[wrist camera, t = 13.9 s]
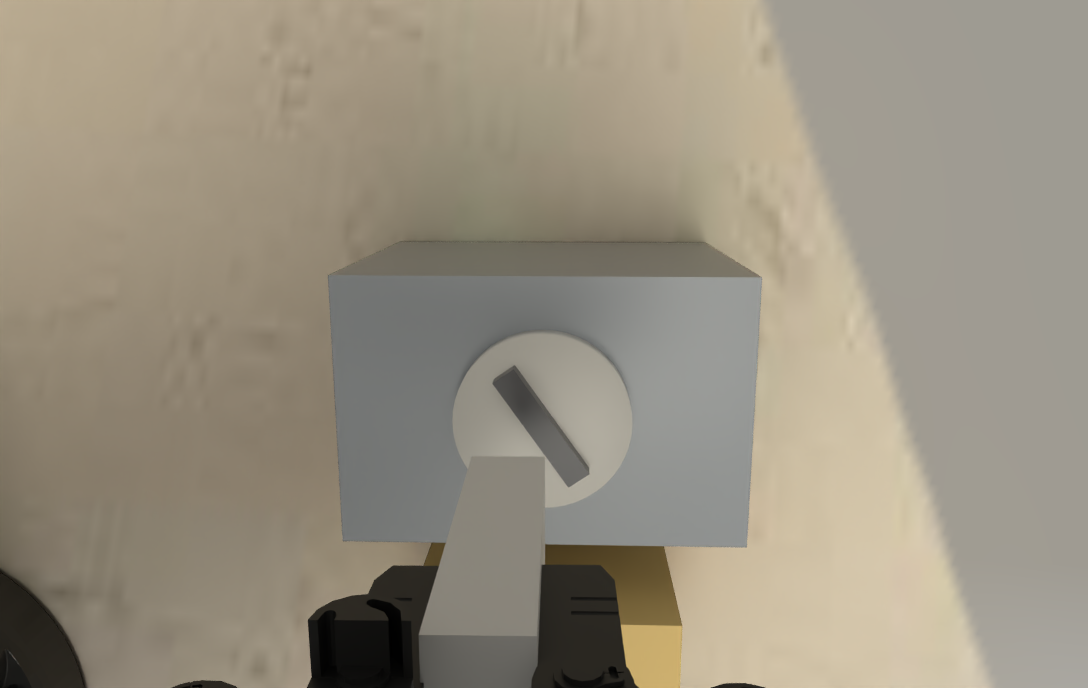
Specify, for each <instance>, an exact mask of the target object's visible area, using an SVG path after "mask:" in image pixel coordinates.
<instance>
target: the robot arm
mask: <svg viewBox="0 0 1088 688" xmlns="http://www.w3.org/2000/svg"><path fill="white" fill-rule="evenodd" d="M308 628H309V643H310V658H311V673H312V678H311V680H310V682H309V684H308V687H307V688H639V687H638V686H636V684H635V683H634V679H633V677H632V675H631V673H630V670H629V668H627V667H626V660H625V653H624V645H623V638H622V630H621V623H620V616H619V608H618V601H617V593H616V586H615V580H614V579H613V578H612V577H611V576H610V575H609V574H608V573H607V571H606V570H605V569H604V568H603V567H602V566H601V565H545V457H515V456H471V460H470V463H469V467H468V470H467V473H466V477H465V480H464V483H463V487H462V490H461V494H460V497H459V500H458V504H457V507H456V510H455V514H454V517H453V521H452V524H451V527H450V531H449V534H448V537H447V541H446V544H445V547H444V551H443V554H442V558H441V561H440V564H439V566H392V567H391V568H389V569H388V570H387V571H385V572H384V573H383V574H382V575H380V576H379V577H378V578H377V579H375V580H374V582H373V584H372V587H371V589H370V591H369V593H368V594H366V595H355V596H349V597H346V598H342V599H339V600H335V601H332V602H330V603H328V604H327V605H325V606H323V607H321V608H319V609H318V610H317V611H316V612H315V613H314V614H313V615H312V616H311V617H310V618H309V619H308ZM0 688H84V686H83V682H82V678H81V674H80V671H79V668H78V665H77V663H76V660H75V658H74V656H73V653H72V651H71V649H70V647H69V645H68V644H67V642H66V640H65V638H64V637H63V635H62V633H61V632H60V630H59V629H58V627H57V626H56V625H55V623H54V622H53V620H52V619H51V618H50V617H49V616H48V614H47V613H46V612H45V611H44V610H43V608H42V607H41V606H40V605H39V604H38V603H37V602H36V601H35V600H34V599H33V598H32V597H31V596H30V595H29V594H28V593H27V592H25V591H24V590H23V589H22V588H21V587H19V586H18V585H17V584H16V583H14V582H13V581H12V580H10V579H9V578H7V577H6V576H5V575H3V574H1V573H0ZM172 688H237V687H236V686H233V685H231V684H228V683H225V682H222V681H204V680H201V681H193V682H191V683H190V682H188V683H184V684H180V685H177V686H175V687H172ZM712 688H765V687H760V686H757V685H752V684H746V683H726V684H722V685H718V686H715V687H712Z"/></svg>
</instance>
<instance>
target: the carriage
mask: <svg viewBox="0 0 1088 688" xmlns="http://www.w3.org/2000/svg"><path fill="white" fill-rule="evenodd" d="M445 544H446V543H434V542H432V544H431V547H430V549H429V552H428V555H427V558H426V560H425V563H424V566H439V564H440V561H441V558H442V554H443V551H444V547H445ZM545 565H601V566H602V567H603V568H604V569H605V570H606V571H607V573H608V574H609V575H610V576H611V577H612V578H613V579H614V580H615V586H616V593H617V601H618V608H619V616H620V623H621V630H622V638H623V645H624V653H625V660H626V667H627V668H629V670H630V673H631V675H632V677H633V679H634V683H635V684H636V686H638V687H639V688H680V671H681V646H682V623H681V618H680V614H679V610H678V605H677V601H676V597H675V593H674V588H673V584H672V580H671V576H670V571H669V567H668V563H667V558H666V554H665V550H664V546H622V545H560V544H545Z"/></svg>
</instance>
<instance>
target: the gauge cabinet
mask: <svg viewBox="0 0 1088 688" xmlns="http://www.w3.org/2000/svg"><path fill="white" fill-rule="evenodd" d="M328 284H329V302H330V320H331V338H332V356H333V374H334V392H335V410H336V428H337V446H338V464H339V482H340V500H341V518H342V535H343V541H371V542H434V543H446V541H447V537H448V534H449V531H450V527H451V524H452V521H453V517H454V514H455V510H456V507H457V504H458V500H459V497H460V494H461V490H462V487H463V483H464V480H465V477H466V473H467V470H468V467H469V463H470V460H471V456H515V457H545V544H560V545H622V546H685V547H747V534H748V516H749V499H750V481H751V463H752V446H753V428H754V411H755V393H756V375H757V358H758V340H759V323H760V305H761V288H762V277H760V276H759V275H757V274H756V273H754V272H752V271H751V270H749V269H748V268H746V267H744V266H743V265H741V264H739V263H738V262H736V261H735V260H733V259H731V258H730V257H728V256H726V255H725V254H723V253H722V252H720V251H718V250H717V249H715V248H713V247H712V246H710V245H709V244H707V243H677V242H399V243H396V244H394V245H392V246H390V247H388V248H386V249H384V250H381V251H379V252H377V253H375V254H373V255H371V256H368V257H366V258H364V259H362V260H360V261H358V262H356V263H353V264H351V265H349V266H347V267H345V268H343V269H341V270H338V271H336V272H334V273H332V274H330V275H328Z"/></svg>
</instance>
